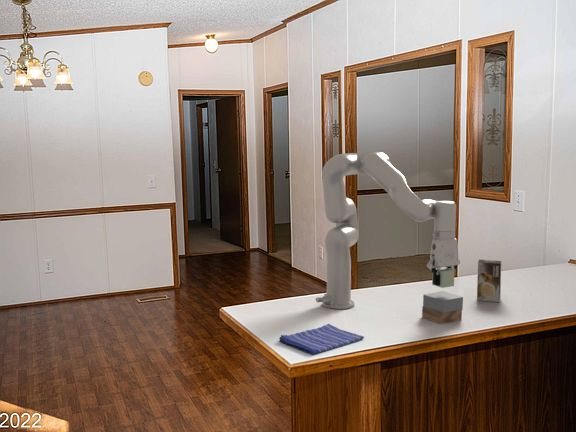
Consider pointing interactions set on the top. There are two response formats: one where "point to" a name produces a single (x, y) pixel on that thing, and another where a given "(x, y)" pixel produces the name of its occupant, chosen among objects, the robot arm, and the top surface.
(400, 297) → the top surface
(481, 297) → the coffee box
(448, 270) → the sage block
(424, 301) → the grey square block
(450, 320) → the walnut block
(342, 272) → the robot arm
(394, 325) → the top surface
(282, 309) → the top surface
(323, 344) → the dish towel
